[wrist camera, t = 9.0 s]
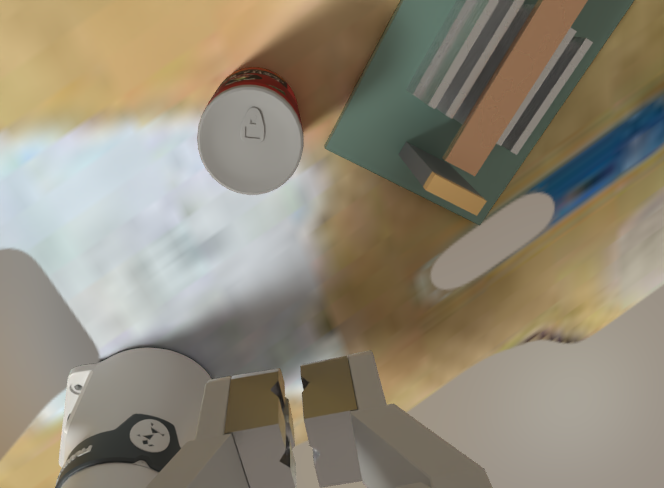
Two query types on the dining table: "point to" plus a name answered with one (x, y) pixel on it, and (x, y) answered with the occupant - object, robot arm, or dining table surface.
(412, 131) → the board
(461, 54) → the heatsink
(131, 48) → the dining table surface
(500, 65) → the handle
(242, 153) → the canned food
